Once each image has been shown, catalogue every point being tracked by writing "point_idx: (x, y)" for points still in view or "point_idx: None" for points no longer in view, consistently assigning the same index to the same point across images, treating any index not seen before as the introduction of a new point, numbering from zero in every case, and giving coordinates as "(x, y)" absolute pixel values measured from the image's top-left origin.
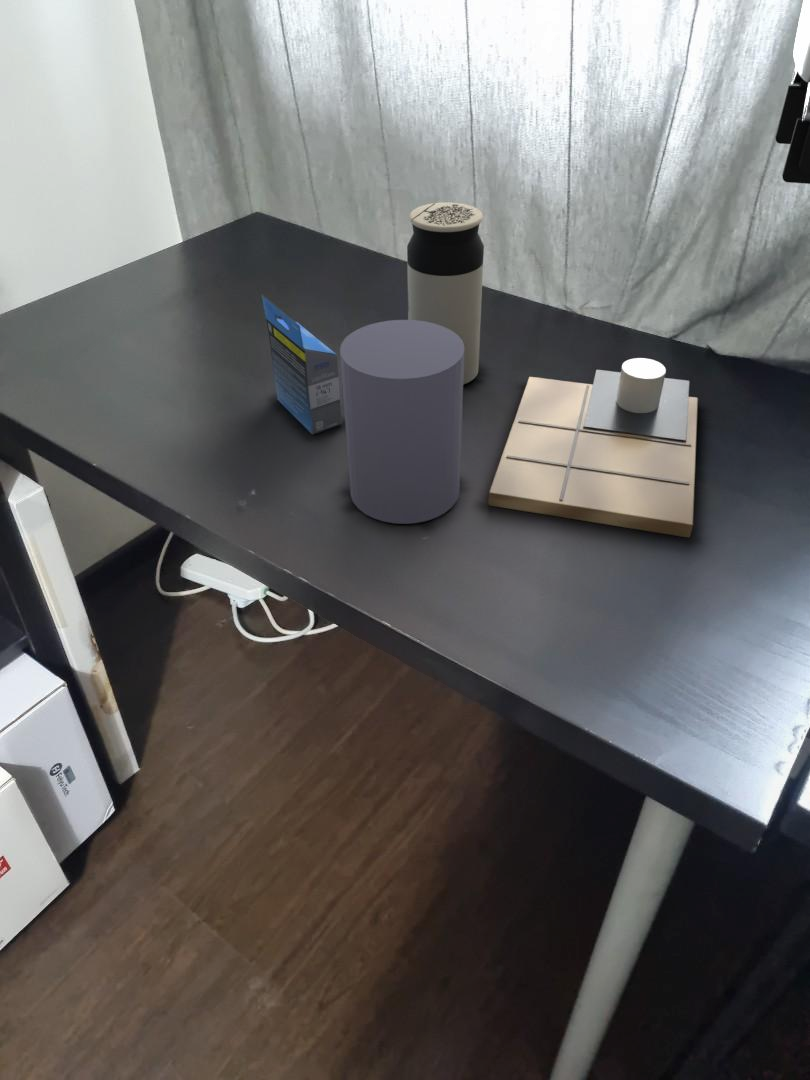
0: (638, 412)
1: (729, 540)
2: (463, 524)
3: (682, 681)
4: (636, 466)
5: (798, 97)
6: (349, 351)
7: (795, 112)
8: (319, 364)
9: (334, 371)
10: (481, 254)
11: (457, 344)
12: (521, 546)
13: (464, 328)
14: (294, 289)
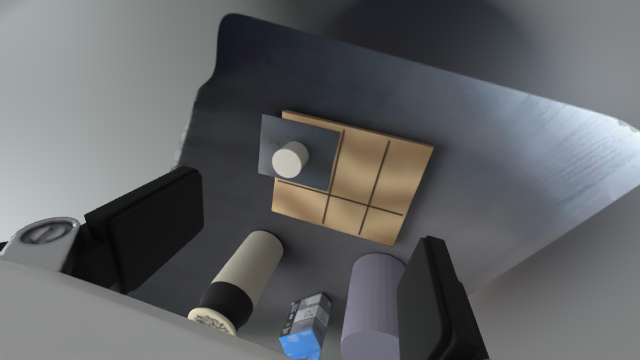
0: (308, 157)
1: (436, 120)
2: (408, 253)
3: (559, 175)
4: (368, 168)
5: (140, 267)
6: None
7: (166, 246)
8: (319, 332)
9: (316, 321)
10: (228, 290)
11: (374, 333)
12: (429, 231)
13: (264, 264)
14: (196, 299)
